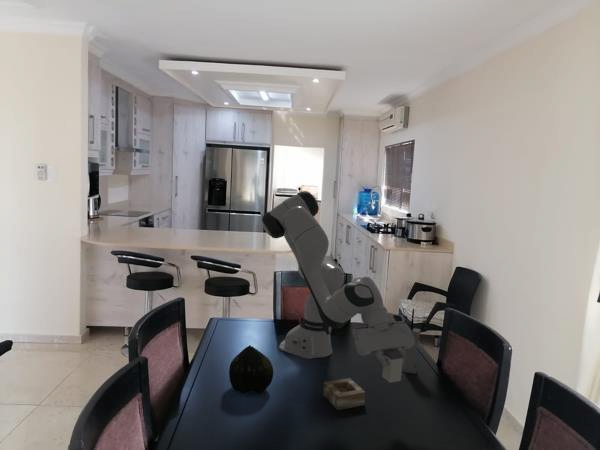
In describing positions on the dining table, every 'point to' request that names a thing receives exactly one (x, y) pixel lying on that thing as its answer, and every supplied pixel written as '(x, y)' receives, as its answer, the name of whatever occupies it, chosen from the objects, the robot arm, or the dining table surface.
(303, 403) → the dining table surface
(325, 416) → the dining table surface
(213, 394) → the dining table surface
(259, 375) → the squash
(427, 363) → the dining table surface
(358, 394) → the box
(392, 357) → the pale rectangular box
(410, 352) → the vintage mobile phone
